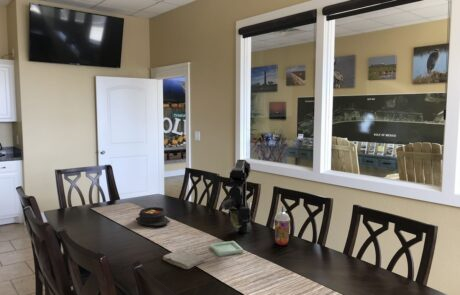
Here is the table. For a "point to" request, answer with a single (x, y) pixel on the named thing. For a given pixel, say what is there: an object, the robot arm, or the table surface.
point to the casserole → (152, 216)
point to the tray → (226, 248)
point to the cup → (234, 218)
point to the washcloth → (183, 259)
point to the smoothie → (282, 228)
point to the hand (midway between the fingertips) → (237, 223)
